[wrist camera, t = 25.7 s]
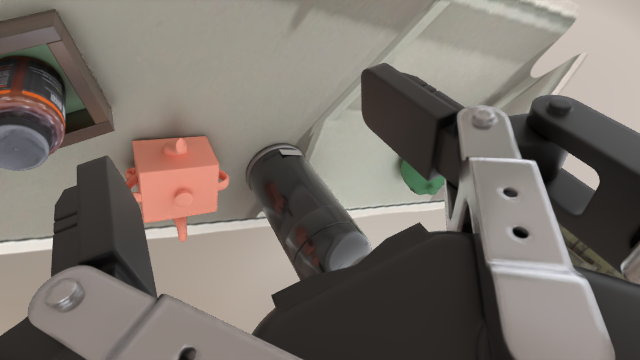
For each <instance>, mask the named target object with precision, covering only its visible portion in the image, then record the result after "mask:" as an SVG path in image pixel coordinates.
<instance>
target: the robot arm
mask: <svg viewBox="0 0 640 360" xmlns="http://www.w3.org/2000/svg"><path fill="white" fill-rule="evenodd" d="M361 97H362V115H363V119H364V121H365V123H366V125H367V126H368V127H369V128H370V129H371V130H372V131H373V132H374V133H375V134H376V135H377V136H378V137H380V138H381V139H382V140H383V141H384V142H385V143H386V144H387V145H388V146H389V147H391V148H392V149H393V150H394V151H395V152H396V153H397V154H398V155H399V156H400V157H402V158H403V159H404V160H405V161H406V162H407V163H408V164H409V165H410V166H411V167H413V168H414V169H415V170H416V171H417V172H418V173H419V174H420V175H421V176H422V177H423V178H425V179H426V180H427V181H428V182H429V181H431V180H433V179H435V178H437V177H439V176H443V177H444V178H445V181H444V199H445V211H446V225H447V231H434V232H428V231H427V230H426V229H425V228H424V227H423V226H422V225H421V224H420V223H417V224H415V225H413V226H411V227H409V228H407V229H405V230H403V231H401V232H399V233H397V234H395V235H393V236H391V237H389V238H387V239H385V240H384V241H383V242H382V243H381V244H380V245H379V246H377V247H376V248H375V249H374V250H373V251H372V252H371V245H370V242H369V240H368V239H367V237H366V236H365V235H364V233H363V232H362V231H361V229H360V228H359V227H358V225H357V224H356V223H355V222H354V220H353V219H352V218H351V216H350V215H349V214H348V212H347V211H346V210H345V209H344V207H343V206H342V205H341V204H340V202H339V201H338V200H337V198H336V197H335V196H334V195H333V193H332V192H331V191H330V189H329V188H328V187H327V185H326V184H325V183H324V182H323V180H322V179H321V178H320V176H319V175H318V174H317V173H316V171H315V170H314V169H313V167H312V166H311V165H310V163H309V162H308V161H307V160H306V158H305V156H304V155H303V153H302V152H301V151H300V150H299V149H298V148H297V147H295V146H293V145H290V144H277V145H273V146H270V147H268V148H266V149H264V150H262V151H261V152H260V153H258V154H257V155H256V156H255V157H254V158H253V160H252V161H251V163H250V164H249V167H248V169H247V174H246V178H247V183H248V185H249V187H250V189H251V190H252V192H253V193H254V195H255V197H256V199H257V201H258V202H259V204H260V206H261V208H262V210H263V212H264V214H265V216H266V217H267V219H268V221H269V223H270V225H271V227H272V228H273V230H274V232H275V234H276V236H277V238H278V240H279V242H280V243H281V245H282V247H283V249H284V251H285V252H286V254H287V256H288V258H289V260H290V262H291V263H292V265H293V267H294V269H295V271H296V273H297V275H298V277H299V278H300V280H301V281H299V282H297V283H295V284H293V285H291V286H289V287H287V288H285V289H283V290H281V291H279V292H277V293H275V294H273V295H272V299H273V302H274V304H275V307H276V308H274V309H273V311H271V312H270V313H269V314H268V315H267V316H266V317H265V318H264V319H263V320H262V321H261V322H260V323H259V325H258V326H257V327H256V329H255V330H254V331H253V333H252V335H251V334H249V333H247V332H244V331H243V330H241V329H239V328H236V327H234V326H232V325H230V324H228V323H226V322H224V321H222V320H220V319H218V318H216V317H214V316H212V315H210V314H208V313H205V312H203V311H201V310H199V309H197V308H195V307H193V306H191V305H189V304H187V303H185V302H183V301H181V300H179V299H177V298H174V297H172V296H170V295H167V294H161V295H160V296H159V298H157V293H156V288H155V282H154V277H153V272H152V267H151V261H150V257H149V251H148V246H147V240H146V235H145V230H144V224H143V219H142V214H141V211H140V208H139V205H138V203H137V201H136V199H135V197H134V195H133V193H132V192H131V190H130V189H129V187H128V185H127V184H126V182H125V181H124V179H123V177H122V176H121V174H120V173H119V171H118V170H117V168H116V166H115V165H114V163H113V162H112V160H111V159H110V158H109V157H108V156H104V157H101V158H98V159H95V160H92V161H89V162H86V163H83V164H80V165H78V166H77V186H74V187H71V188H68V189H65V190H64V191H63V193H62V195H61V196H60V198H59V200H58V201H57V203H56V205H55V214H54V221H55V223H54V234H55V235H53V250H52V268H51V278H50V279H49V280H47V281H46V282H45V283H44V284H43V285H42V286H41V287H40V288H39V289H38V291H37V292H36V293H35V295H34V296H33V298H32V300H31V302H30V304H29V308H28V316H27V317H26V318H25V319H24V320H23V321H21V322H20V323H19V324H17V325H16V326H14V327H13V328H11V329H10V330H8V331H7V332H6V333H4V334H3V335H1V336H0V360H640V133H637V132H636V131H634V130H632V129H630V128H628V127H626V126H624V125H622V124H620V123H619V122H617V121H615V120H613V119H611V118H609V117H607V116H605V115H603V114H601V113H599V112H598V111H596V110H594V109H592V108H590V107H588V106H586V105H584V104H583V103H581V102H579V101H577V100H574V99H572V98H569V97H565V96H560V95H545V96H540V97H538V98H536V99H535V100H534V101H533V102H532V105H531V108H530V110H529V113H528V114H521V115H514V116H507V115H506V114H505V113H504V112H502V111H500V110H498V109H496V108H493V107H489V106H481V105H478V106H470V107H466V108H465V107H464V106H462V105H460V104H459V103H457V102H456V101H454V100H453V99H451V98H449V97H448V96H446V95H445V94H443V93H441V92H440V91H436V89H435V88H434V87H432V86H430V85H428V84H427V83H426V82H424V81H423V80H421V79H419V78H418V77H416V76H413V75H409V74H406V73H401V72H399V71H398V70H396V69H394V68H393V67H391V66H390V65H388V64H387V63H382V64H379V65H376V66H373V67H370V68H367V69H365V70H363V72H362V75H361ZM568 153H570V154H572V155H573V156H575V157H576V158H578V159H580V160H581V161H583V162H584V163H586V164H587V165H589V166H590V167H592V168H593V169H595V171H596V172H597V173H598V175H599V179H600V183H599V186H598V188H597V190H596V191H595V190H593V189H592V188H590V187H589V186H587V185H586V184H585V183H583V182H582V181H580V180H578V179H577V178H576V177H574V176H573V175H572V174H570V173H569V172H567V171H566V170H564V169H563V168H562V166H563V164H564V161H565V159H566V157H567V155H568ZM557 222H558V223H559V224H561V225H562V226H563V227H564V228H566V229H567V230H568V231H569V232H570V233H572V234H573V235H574V236H575V237H577V238H578V239H579V240H580V241H581V242H583V243H584V244H585V245H586V246H588V247H589V248H590V249H591V250H592V251H594V252H595V253H596V254H597V255H599V256H600V257H601V258H602V259H603V260H605V261H606V262H607V263H608V264H610V265H611V266H612V267H613V268H614V269H616V270H617V271H618V272H619V273H621V274H622V275H623V276H624V278H625V280H624V279H620V278H617V277H614V276H610V275H607V274H604V273H600V272H597V271H594V270H590V269H587V268H584V267H580V266H577V265H574V264H572V263H571V260H570V257H569V254H568V251H567V248H566V246H565V243H564V240H563V237H562V234H561V231H560V228H559V226H558V223H557Z"/></svg>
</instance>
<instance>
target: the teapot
mask: <svg viewBox="0 0 640 360" xmlns="http://www.w3.org/2000/svg"><path fill="white" fill-rule="evenodd" d="M132 144H133V153H134V162H135V167H133V168H129V169H127V170H126V173H125V176H126V178H127V179H128V180H127V181H126V184H127V185H128V187H129V189H131V188H132V187H133V186H134V185H135V184H136V183H137V189H138V193H134V192H132V193H133V195H134V197H135V199H136V201H137V202H140V205H141V210H142V216H143V221H144V223H149V222H155V221H162V220H168V219H173V220H174V222H175V225H176V227H177V231H178V236H179V239H180V241H181V242H184V241H185V240H186V238H187V216H192V215H198V214H204V213H210V212H215V211H217V202H218V191H221V190H223V189H225V188H226V187H227V186H228V184H229V176H228V175H227V174H226V173H225V172H224V171H222V170H220V169H219V162H218V160H217V158H216V156H215V154H214V152H213V150H212V148H211V146H210V144H209V141H208V139H207V137H206V136H200V137H184V138H169V139H155V140H140V141H132ZM219 178H220V179H222V180H223V181H222V182H218V180H219Z"/></svg>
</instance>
